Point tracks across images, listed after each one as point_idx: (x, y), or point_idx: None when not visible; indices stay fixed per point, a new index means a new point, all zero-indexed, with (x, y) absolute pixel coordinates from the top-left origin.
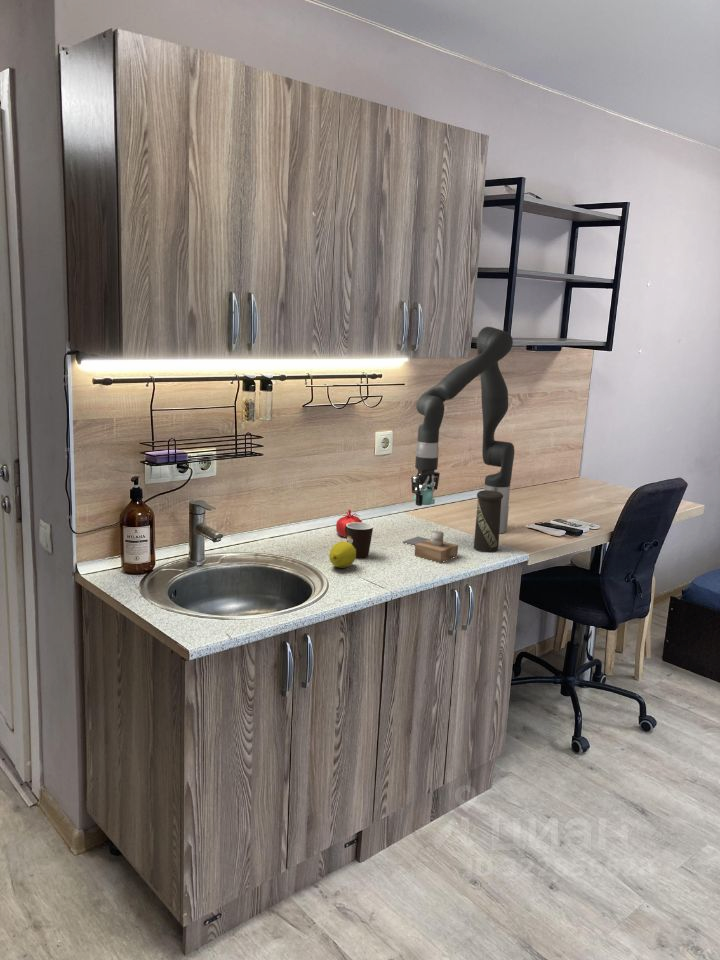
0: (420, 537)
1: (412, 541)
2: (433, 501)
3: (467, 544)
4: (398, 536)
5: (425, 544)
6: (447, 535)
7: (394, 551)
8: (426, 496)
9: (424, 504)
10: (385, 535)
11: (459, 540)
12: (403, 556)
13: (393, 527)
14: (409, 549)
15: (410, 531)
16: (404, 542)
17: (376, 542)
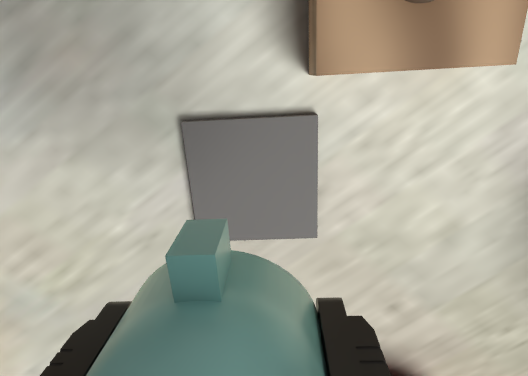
0: None
1: (284, 210)
2: (205, 238)
3: (63, 5)
4: None
5: (475, 14)
6: (46, 178)
7: (457, 182)
8: (291, 364)
9: (300, 285)
10: None
11: (51, 85)
12: (506, 103)
13: None
14: (380, 156)
15: None
16: (316, 228)
17: (389, 303)
